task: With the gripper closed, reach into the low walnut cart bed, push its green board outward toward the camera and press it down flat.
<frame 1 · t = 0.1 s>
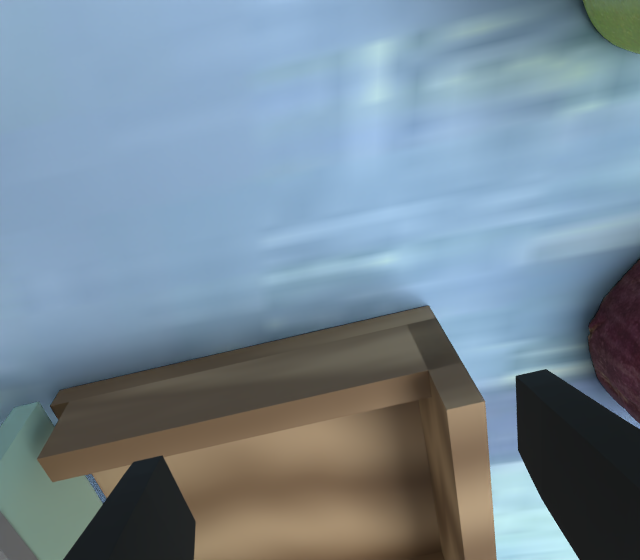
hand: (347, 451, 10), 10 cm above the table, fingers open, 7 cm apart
cart bed: (288, 477, 24), on the table
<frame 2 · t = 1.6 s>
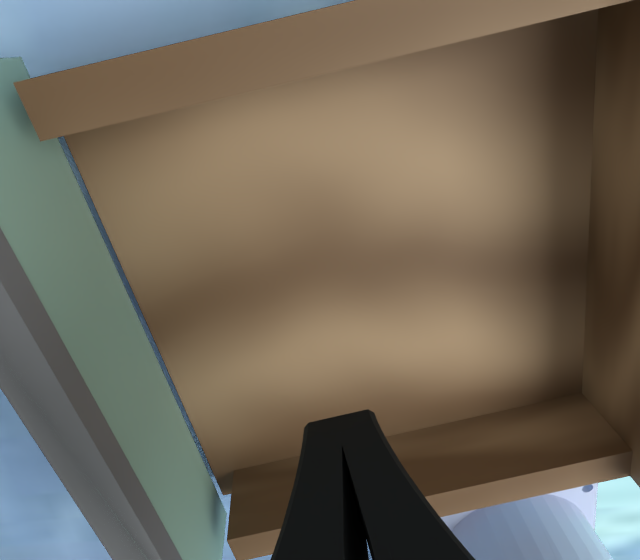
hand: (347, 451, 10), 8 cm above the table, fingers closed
cart bed: (380, 267, 17), on the table
green board: (110, 393, 14), point 4 cm above the table, hinge at 0.0°
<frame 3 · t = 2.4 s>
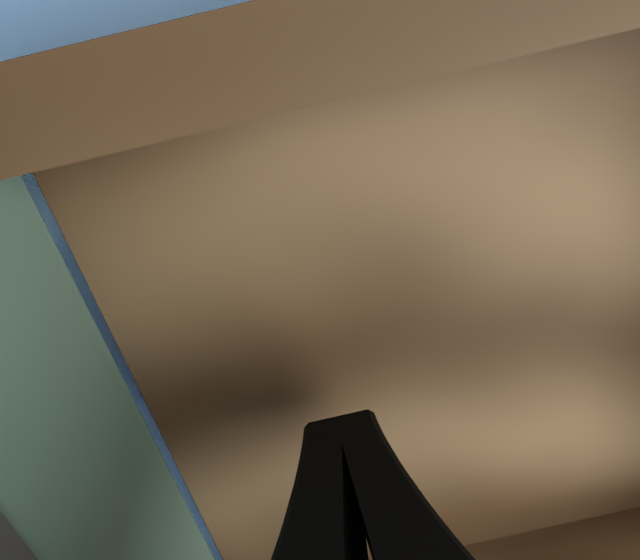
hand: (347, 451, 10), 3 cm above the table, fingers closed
cart bed: (471, 334, 12), on the table
green board: (101, 549, 9), point 4 cm above the table, hinge at 0.0°
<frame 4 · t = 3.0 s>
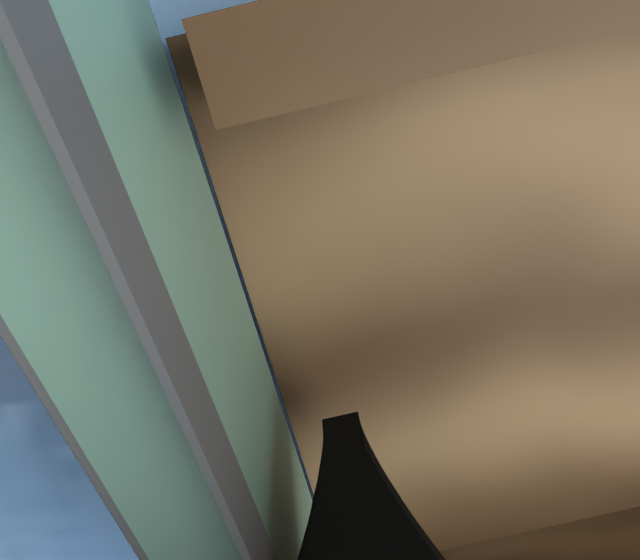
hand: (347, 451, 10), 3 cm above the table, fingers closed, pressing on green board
cart bed: (588, 307, 12), on the table
green board: (260, 514, 9), point 4 cm above the table, hinge at 0.1°, touching gripper
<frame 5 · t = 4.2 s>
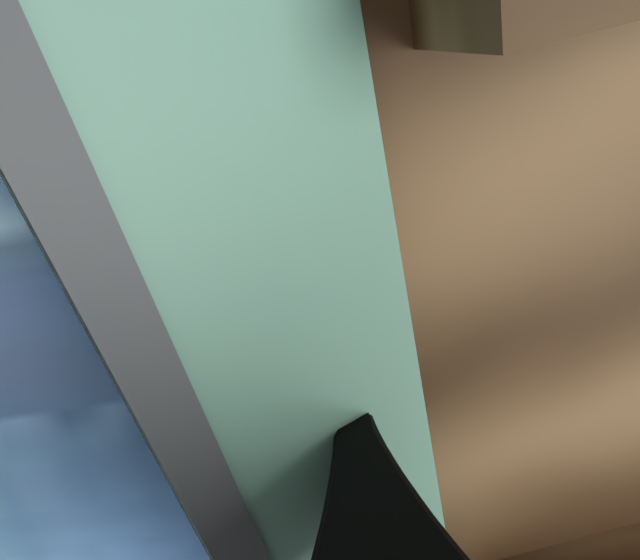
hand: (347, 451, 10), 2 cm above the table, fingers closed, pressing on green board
green board: (319, 464, 10), point 2 cm above the table, hinge at 60.0°, touching gripper
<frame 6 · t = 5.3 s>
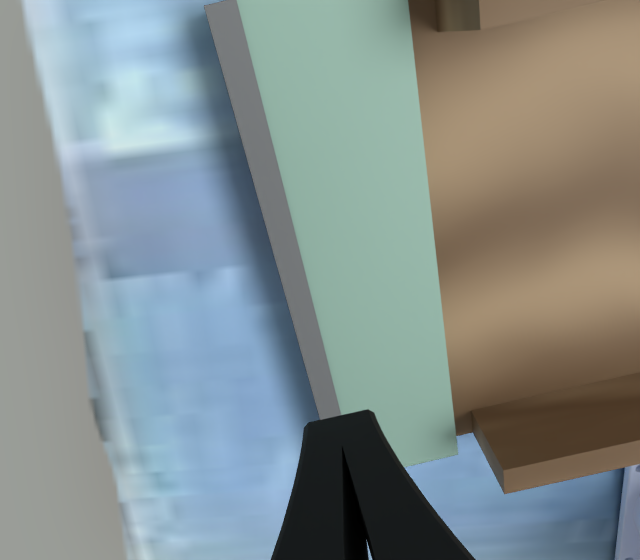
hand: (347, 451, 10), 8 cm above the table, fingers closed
green board: (359, 278, 16), point 1 cm above the table, hinge at 89.2°
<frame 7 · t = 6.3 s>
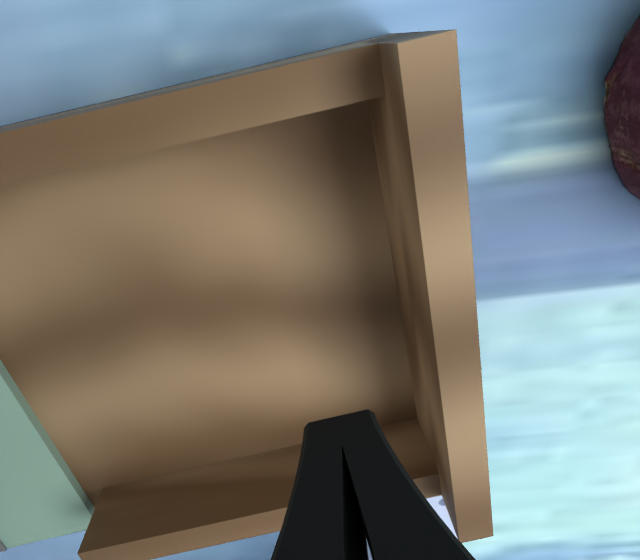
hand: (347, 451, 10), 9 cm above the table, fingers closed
cart bed: (218, 308, 19), on the table
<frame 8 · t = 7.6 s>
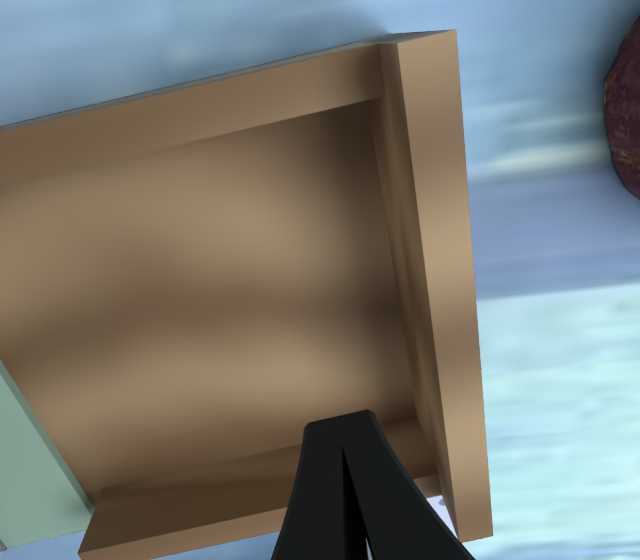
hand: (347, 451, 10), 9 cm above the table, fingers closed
cart bed: (218, 308, 19), on the table
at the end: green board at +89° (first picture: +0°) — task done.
